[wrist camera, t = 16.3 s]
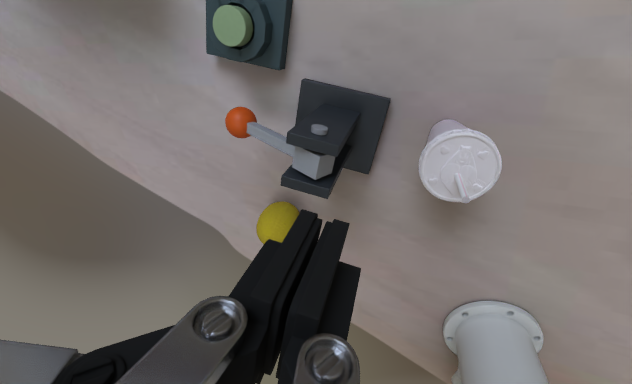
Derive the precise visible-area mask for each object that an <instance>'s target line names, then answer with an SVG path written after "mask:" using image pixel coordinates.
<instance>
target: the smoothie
mask: <svg viewBox="0 0 632 384" xmlns="http://www.w3.org/2000/svg"><path fill="white" fill-rule="evenodd" d="M501 168H502V160H501V156H500V153H499V151H498V149H497V147H496V145H495V143H494V142H493V141H492V140H491V139H490V138H489V137H488V136H486V135H485V134H483V133H481V132H479V131H475V130H471V129H468V128H467V127H465V126H464V125H462V124H461V123H459V122H458V121H456V120H452V119H445V120H442V121H439V122H438V123H436V124H435V125H434V126H433V127H432V129H431V130H430V133H429V137H428V141H427V145H426V147H425V148H424V150H423V151H422V153H421V156H420V159H419V167H418V170H419V174H420V178H421V181H422V183H423V185H424V187H425V188H426V189H427V190H428V191H429V192H430V193H431V194H432V195H434V196H435V197H437V198H439V199H442V200H445V201H449V202H463V203H468V202H469V201H470V200H473V199H475V198H478V197H480V196H482V195H483V194H485V193H486V192H487V191H489V190H490V189H491V188H492V187H493V186H494V184H495V183H496V182H497V180H498V178H499V176H500V173H501Z"/></svg>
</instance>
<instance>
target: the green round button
mask: <svg viewBox="0 0 632 384" xmlns="http://www.w3.org/2000/svg"><path fill="white" fill-rule="evenodd" d="M213 29H214V33H215V35H216V37H217V38H218V40H219V41H220V42H221V43H223V44H224V45H226V46H229V47H236V46H243V45H245V44H247V43H248V42H249V41H250V39H251V37H252V34H253V23H252V20H251V17H250V15H249V14H248V13H247V12H246V11H245V10H244V9H243V8H241V7H238V6H232V5H223V6H221V7H219V8H218V9H217V10H216V12H215V14H214V17H213Z"/></svg>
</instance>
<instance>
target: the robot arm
mask: <svg viewBox="0 0 632 384" xmlns="http://www.w3.org/2000/svg"><path fill="white" fill-rule="evenodd" d="M317 217H318V214H316V213H313V212H310V211H306V210H301V212H300V213H299V215H298V217H297V218H296V220H295V222H294V223H293V225H292V227H291V228H290V230H289V232H288V233H287V235H286V237H285V238H284V240H283V241H282V243H281V242H278V241H274V240H271V239H268V240H267V241H266V242H265V244H264V245H263V247H262V248H261V250H260V251H259V253H258V254H257V256H256V257H255V258H254V260H253V261H252V263H251V264H250V266H249V267H248V269H247V270H246V272H245V273H244V275H243V276H242V277H241V279H240V280H239V282H238V283H237V285H236V286H235V288H234V289H233V291H232V292H231V294H230V295H229V296H215V297H210V298H207V299H205V300H203V301H201V302H199V303H198V304H197V305H195V306H194V307H193V308H192V309H191V310H190V311H189V312H188V313H187V314H186V315H185V316H184V317H183V318H182V319H181V320H180V321H179V322H178V323H177V324H176V325H173V326H170V327H167V328H164V329H161V330H157V331H154V332H151V333H148V334H144V335H141V336H138V337H135V338H132V339H128V340H125V341H122V342H119V343H116V344H113V345H110V346H106V347H103V348H100V349H97V350H94V351H92V352H89V353H87V354H80V353H78V350H77V349H71V348H64V347H55V346H47V345H39V344H30V343H22V342H15V341H6V340H0V384H255V383H257V384H260V382H261V380H262V377H263V375H264V373H265V374H268V375H271V373H272V371H273V369H274V366H275V364H276V361H277V359H278V356H279V354H280V357H279V362H278V368H277V373H276V378H278V379H279V380H278V384H360V367H359V360H358V357H357V355H356V353H355V351H354V349H353V348H352V347H351V345H350V344H349V343H348V342H347V336H348V331H349V326H350V321H351V317H352V312H353V307H354V302H355V297H356V292H357V287H358V282H359V277H360V272H361V268H358V267H355V266H352V265H349V264H346V263H343V262H340V261H339V259H340V256H341V252H342V249H343V245H344V242H345V238H346V235H347V231H348V228H349V223H346V222H343V221H339V220H336V219H334V220H333V223H331V222H328V221H327V222H326V224H325V227H324V229H323V231H322V233H321V236H320V238H319V234H320V229H321V225H322V220H321V219H318V218H317ZM318 238H319V240H318ZM443 336H444V340H445V343H446V344H447V346H448V347H449V349H450V350H451V351H452V352H453V353H454V354H456V355H457V356H458V362H459V364H458V370H457V371H456V372H455V374H454V375H453V376H452V378H451V380H452V383H453V384H549V382H548V380H547V377H546V375H545V372H544V370H543V367H542V365H541V362H540V360H539V357H538V355H537V354H538V353H539V351H540V350H541V348H542V345H543V333H542V330H541V328H540V326H539V324H538V322H537V321H536V320H535V319H534V317H533V316H532V315H530V314H529V313H528V312H526V311H525V310H523V309H521V308H519V307H517V306H514V305H511V304H508V303H504V302H499V301H477V302H472V303H468V304H465V305H462V306H460V307H458V308H456V309H455V310H453V311H452V312H451V313H450V314H449V315H448V316H447V318H446V319H445V321H444V324H443ZM280 351H281V352H280Z"/></svg>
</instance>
